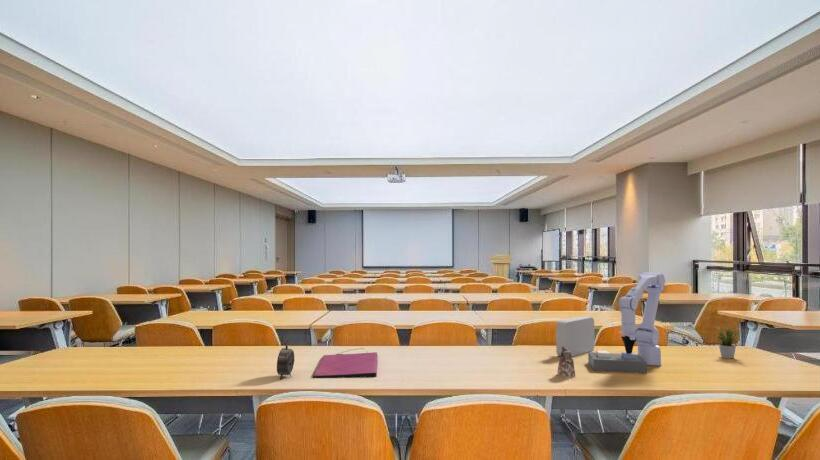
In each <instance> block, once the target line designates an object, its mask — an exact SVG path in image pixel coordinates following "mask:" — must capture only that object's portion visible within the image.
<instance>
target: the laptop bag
mask: <svg viewBox="0 0 820 460" xmlns="http://www.w3.org/2000/svg"><path fill="white" fill-rule="evenodd" d="M355 350H357V348H354V349H353V351H355ZM359 350H364V348H359ZM349 351H351V349H349V350H346V351H344V353H345V352H349ZM344 353H343V351H341V352H339V353H335V354H324V355H323V356H322V358H321V359H320V361H319V363H318V365H317V367H316V369H315V371H314V373H313V375H312V379H332V378H333V379H335V378H336V379H337V378H338V379H339V378H341V379H343V378H344V379H345V378H377V376H378V375H377V374H378V361H379V360H378V359H379V358H378V352H363V353H362V352H361V353H345V354H344Z"/></svg>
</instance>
